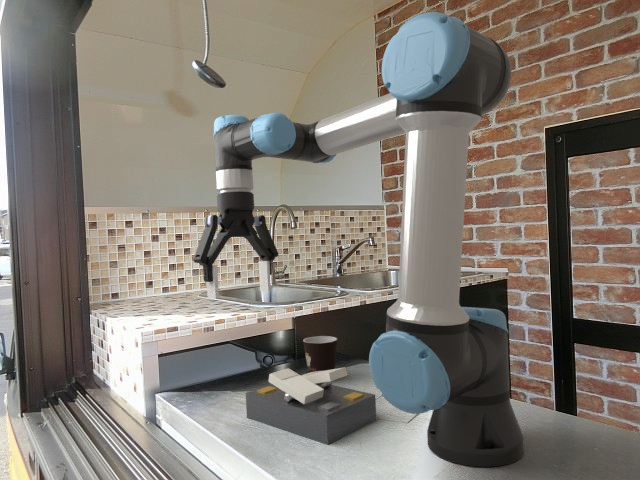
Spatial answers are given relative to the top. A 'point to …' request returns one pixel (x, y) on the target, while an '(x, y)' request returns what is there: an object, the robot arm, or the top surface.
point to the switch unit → (313, 411)
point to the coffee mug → (320, 353)
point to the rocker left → (296, 386)
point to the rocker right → (325, 375)
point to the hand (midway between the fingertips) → (240, 294)
